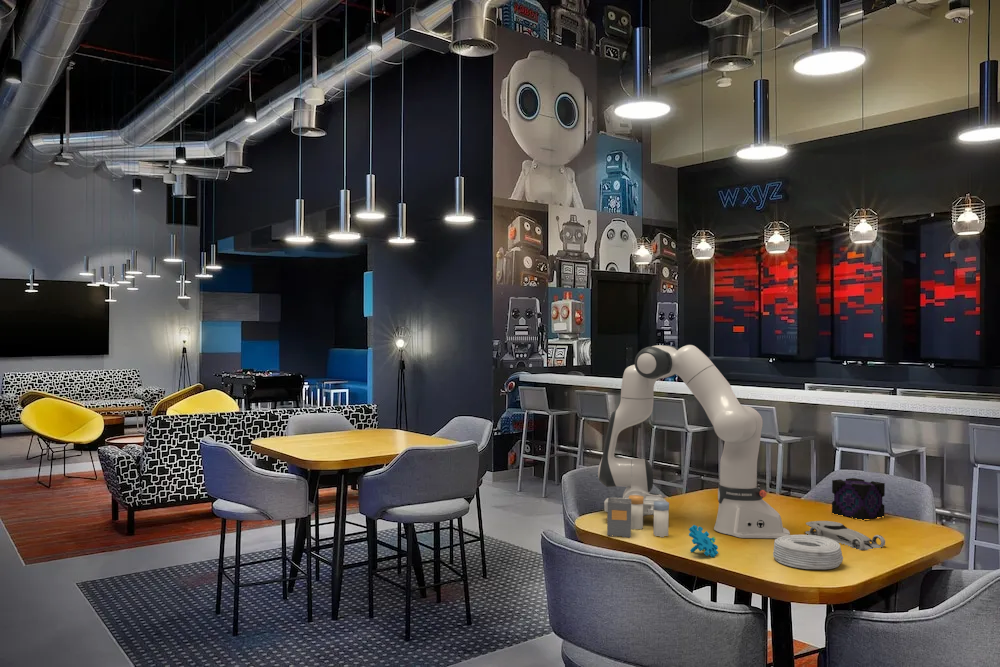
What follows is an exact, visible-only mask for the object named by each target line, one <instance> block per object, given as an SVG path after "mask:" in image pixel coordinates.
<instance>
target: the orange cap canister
mask: <svg viewBox="0 0 1000 667" xmlns="http://www.w3.org/2000/svg"><path fill="white" fill-rule="evenodd" d="M629 499H631V530H633V529H641V530H643V529H644V528H643V527H644V516H643V503H644V497H643V496H640V495H630V496H629ZM642 528H643V529H642Z"/></svg>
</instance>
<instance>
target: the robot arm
mask: <svg viewBox="0 0 1000 667" xmlns="http://www.w3.org/2000/svg"><path fill="white" fill-rule="evenodd" d="M676 375H677V376H678V377H679V378H680V379H681V380H682V381H683V383H684V384H685V385H686V387H687V388H688V389H689V390H690V391H691V393H692V395H693V396H694V397H695V398H696V400H697V401H698V403H699V404H700V405H701V406H702V408H703V410H704V411H705V414H706V416H707V418H708V419H709V421H710V423H711V424H712V426H713V430H714V433H715V434H716V436H717V437H718V438H719V439H720V440H721V441H724V442H723V443H724V444H723V450H722V453H721V457H720V460H719V461H720V463H719V464H720V465H719V467H720V468H719V484H718V488H717V500H718V509H717V514H716V520H715V524H714V527H713V530H714V531H716V532H718V533H721V534H723V535H724V534H725V535H729V536H733V537H736V538H739V539H777V538H779V537H782V536H788V535H791V533H790V530H789V529H787V528H785V527H783V521H782V518H781V514H780V513H779V512H778V511H777V510H776V509H775V508H774V507H772V506H771V505H770V504H769V503H768V502H766V501H765V500H764V498H767V495H768V494H767V492H766V490H764V489H762V488H760V487H758V486H757V484H758V482H757V480H758V477H757V476H758V457H759V453H760V452H759V450H760V447H761V446H760V445H761V436H762V429H763V424H764V423H763V422H764V421H763V417H762V416H761V414H760V412H759V411H757V410H756V409H755V408H753V407H751V406H749V405H742V404H741V402H739V400H738V398H737V396H736V395H735V393H734V391H733V389H732V386H731V384H730V382H729V381H728V380H727V379H726V377H724V375H723V374H722V372H721V371H720V370H719V369H718V368H717V367H716V365H715V364H714V363H713V361H712V360H711V359H710V358H709V357H708V355H706V354H705V353H704V352H703V351H702V350H701V349H699V348H698V347H697V346H695V345H693V344H686V345H684V346H682V347H680V348H678V347H675V346H673V345H661V344H659V345H658V344H657V345H652V346H647V347H644V348H641V349H640V351H638V353H637V354H636V356H635V358H634V364H632V365H630V366H627V367H626V368H625V369H624V372H623V375H622V379H621V389H620V402H619V405H618V407H617V409H616V410H614V411H612V412H611V415H610V417H609V421H608V426H607V430H606V434H605V440H604V444H603V450H602V451H603V452H602V456H601V459H600V462H599V465H598V470H597V476H598V480H599V482H600V483H601V484H602V485H603V486H604V487H606V488H608V487H609V488H616V487H622V488H623V487H626V488H625V489H624V491H623V494H622V497H620V498H621V499H629V496H630V495H640V496H643V497H644V503H643V517H645V516H654V501H665V502H668V501H667V499H665V498H663V494H659V493H655V492H654V493H653V492H651V491H652V489H653V486H654V474H653V466H652V465H651V463H650V462H649V460H647V459H646V458H635V457H633V458H627V457H626V458H625V457H622V458H621V457H616V456H615V453H616V452H615V451H616V446H617V442H618V437H619V434H620V433H621V432H622V431H624V430H625V429H627V428H630V427H632V426H636V425H639V424H641V423H643V422H645V421H646V420H647V419H648V418H650V416H651V415H652V413H653V410H654V398H655V397H654V394H655V393H654V389H655V383H656V382H657V381H658V380H662V379H663V380H664V379H667V378H671V377H674V376H676ZM608 498H609V497H607V498H605V500H604V501H603V503H604V511H605V512H606V513H608Z"/></svg>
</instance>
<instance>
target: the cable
mask: <svg viewBox="0 0 1000 667" xmlns="http://www.w3.org/2000/svg"><path fill="white" fill-rule="evenodd" d="M772 556H773V558H774V560H775V561H776V562H778V563H780V564H781V565H785V566H788V567H791V568H797V569H803V570H804V569H805V570H832V569H837V568H839V566H840V565H841V564H842V563H843V560H844V557H843V552H842V548H841V544H839V543H838V542H836V541H834V540H832V539H829V538H825V537H821V536H816V535H807V534H790V535H788V536H782V537H779V538H774V543H773V552H772Z"/></svg>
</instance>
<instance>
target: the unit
mask: <svg viewBox="0 0 1000 667" xmlns="http://www.w3.org/2000/svg"><path fill="white" fill-rule="evenodd" d="M607 498H608V512H607V517H606V519H607V522H606V524H607V525H606V527H607V528H606V529H607V530H606V536H607V535H610V536H609V537H614V536H622V537H621V538H630V537H631V538H632V529H631V499H621V498H622V497H607ZM612 535H613V536H612Z"/></svg>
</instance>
